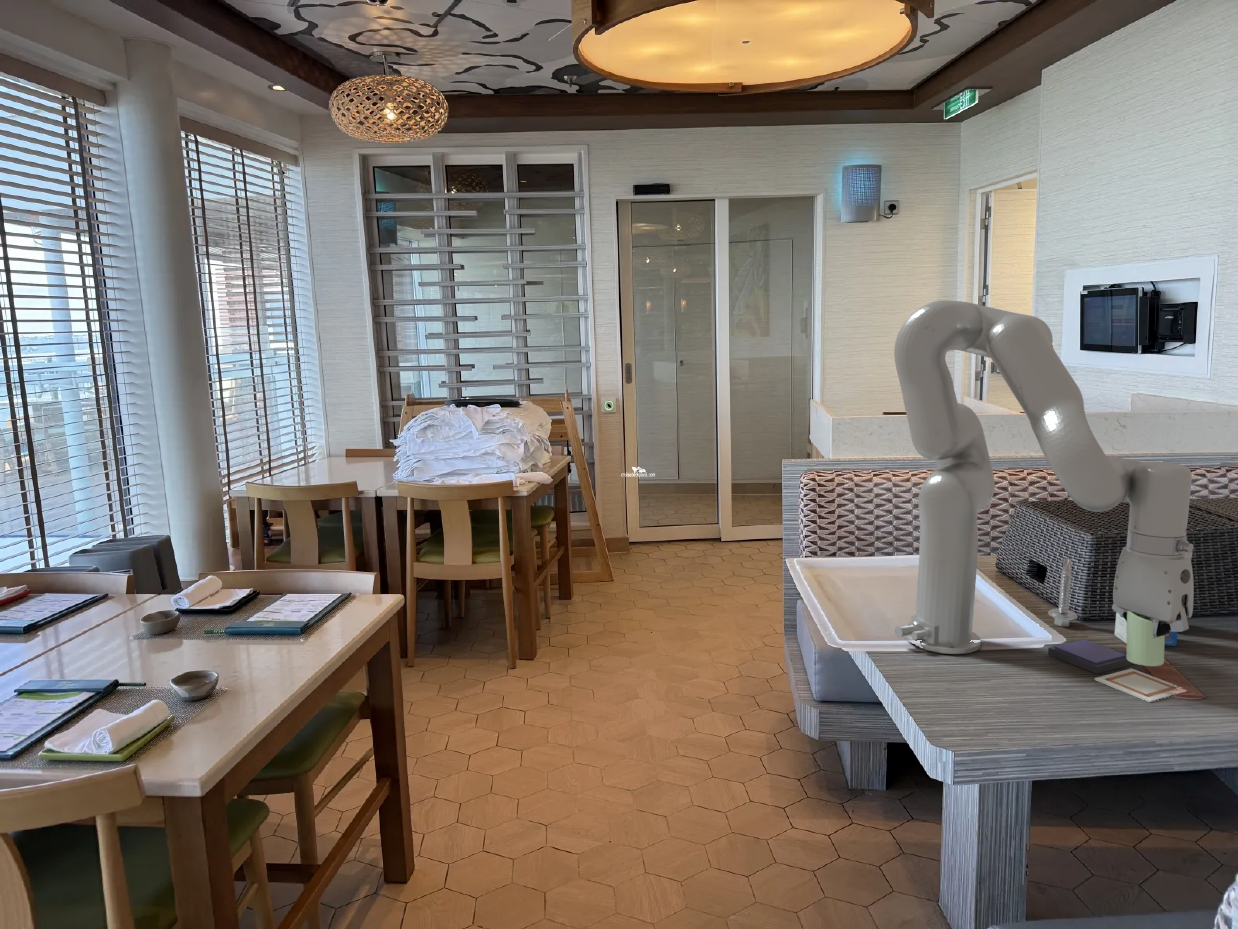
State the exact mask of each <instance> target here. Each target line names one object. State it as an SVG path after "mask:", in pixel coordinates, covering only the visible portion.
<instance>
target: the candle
mask: <svg viewBox="0 0 1238 929" xmlns="http://www.w3.org/2000/svg"><path fill="white" fill-rule="evenodd" d="M1150 620H1151V618H1149V617H1145V616H1142V615H1140V616H1137V615H1135V614H1134V613H1132V612H1131V611H1127V644H1126V651H1125V652H1126V653H1125V654H1126V659H1127V660H1128V661H1129V662H1131V663H1133V664H1134V665H1139V666H1145V667H1160V666H1162V665H1164V663H1165V645H1164V642H1165V636H1159V637H1156V638H1153V637H1154V636H1155V635H1154V636H1153V633H1154V632H1153V622H1152V621H1150ZM1162 624H1164V622H1163V623H1160V625H1162Z"/></svg>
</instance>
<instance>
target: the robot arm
mask: <svg viewBox="0 0 1238 929" xmlns="http://www.w3.org/2000/svg"><path fill="white" fill-rule="evenodd" d="M1053 340H1054V338H1053V333H1052V330H1051V329H1050V326H1049V325H1048V324H1047V323H1046V322H1045V321H1044V320H1043V319H1041V318H1039V317H1037V316H1033V315H1030V314H1022V313H1017V312H1012V311H1007V310H1003V309H1000V308H994V307H991V306H985V305H981V304H978V303H977V304H976V303H973V302H969V301H968V302H967V301H961V300H949V299H948V300H947V299H946V300H936V301H932V302H929V303H927V304H924V305H923V306H920V307H919V308H918V309H916V310H915V311H914V312H913V313H911V314H910V316H909V317H907V319H905V321H904V322H903V324H902V325H901V327H900V329H899V331H898V333H897V335H896V338H895V343H894V350H893V352H894V353H893V355H894V363H895V368H896V373H897V377H898V381H899V386H900V390H901V394H902V399H903V404H904V405H903V406H904V410H905V413H906V418H907V423H908V426H909V427H908V428H909V432H910V436H911V437H910V438H911V441H912V445H913V446H914V449H915V450H916V452H917V453H918V455H920V456H921V457H923V458H924V459H927V460H930V461H934V462H935V468H936V470H935V471H934V472H932V473H930V475H928V477H926V479H925V480H924V481H923V483H922V485H921V487H920V490H919V494H918V502H917V504H918V514H919V549H918V551H919V552H918V571H917V572H918V575H917V589H916V608H915V615H912V616H911V621H910V622H908V624H904V625H903V624H902V625H897V626H896V627H895V628H894V634H895V636H896V637H898V638H904V637H905V639H906V638H907V639H909V640H915V641H917V640H922V641H920V644H921V646H922V647H923V649H922V650H925V651H929V652H932V653H939V654H948V655H965V654H972V653H973V652H976V651H978V650H980V648H981V646H980V642H978V643H974V642H973V641H972V642H970V641H971V640H981V641H982V638H980V636H979V635H978V634H976V633H975V632H973V627H974V626H973V625H974V624H973V623H974V611H975V610H974V608H975V598H976V597H975V596H976V594H975V593H976V584H977V582H976V581H977V568H978V567H977V566H978V550H979V532H978V530H979V529H978V512H979V511H981V510H983V509H984V508H985V507H986V506H987V505H988V504H989V503H990V502H991V500H992V498H993V496H994V494H995V490H996V489H995V488H996V484H995V482H996V481H995V476H994V470H993V467H992V462H991V458H990V454H989V449H988V446H987V441H986V437H985V432H984V429H983V426H982V423H981V420H980V418H979V417H978V415H977V414H976V413H975V412H974V410H973V409H971V408H970V407H969V406H967V405H965V404H963V403H960V402H958V399H957V396H956V392H955V387H954V381H953V377H952V374H951V372H950V369H949V367H948V365H947V364H948V363H947V361H946V355H947V353H948V352H949V351H961V352H965V353H968V354H969V353H970V354H973V355H977V356H980V357H985V358H989V359H991V361H992V362H993V364H994V365H995V367H996V369H997V371H998V372H999V374H1000V375H1001V377H1002V378H1003V380H1004V381H1005V383H1006V385H1007V387H1008V388H1009V389H1010V391H1011V393H1012V394H1013V396H1014V398H1015V399H1016V400H1017V402H1018V403H1019V406H1020V407H1021V408H1022V410H1023V412H1024V413H1025V415H1026V417H1027V418H1028V421H1029V424H1030V427H1031V429H1032V432H1033V433H1034V435H1035V438H1036V440H1037V442H1038V444H1039V447H1040V449H1041V452H1042V453H1043V456H1044V458H1045V460H1046V461H1047V463H1048V464H1049V467H1050V468H1051V470H1052V471H1053V473H1054V474H1055V476H1056V478H1057V480H1058V481H1059V483H1060V484H1061V486H1062V487H1063V489H1064V490H1065V492H1066V494H1067V495H1068V496H1069V498H1070V499H1071V501H1073V503H1074V504H1076V505H1077V506H1079V507H1080V508H1081V509H1084V510H1086V511H1089V512H1095V513H1096V512H1097V513H1102V512H1107V511H1110V510H1112V509H1114V508H1115V507H1117V506H1118V505H1119V504H1120V503H1129V514H1128V515H1129V516H1128V526H1127V527H1128V528H1127V536H1126V546H1123V547H1122V549H1121V553H1120V555H1119V558H1118V562H1117V566H1116V571H1115V575H1114V580H1113V591H1112V602H1113V603H1112V606H1111V610H1112V611H1114V612H1115V613H1116V612H1117V613H1118V614H1120V615H1121V616H1123V617H1124V619H1125V620H1126V621H1127V611H1131V612H1132V613H1134V614H1135V615H1137V616H1140V615H1142V616H1145V617H1149V618H1151V620H1150V621H1152V622H1153V632H1154V633H1153V636H1154V635H1155V636H1154V637H1153V638H1156V637H1159V636H1165V635H1166V634H1167V633H1169V632H1178V633H1179V632H1186V631H1188V630H1189V629H1190V626H1189V623H1188V622H1189V621H1188V619H1190V618H1192V615H1193V612H1194V596H1195V594H1194V592H1195V590H1194V587H1195V586H1194V585H1195V583H1194V573H1193V565H1192V558H1191V559H1190V557H1189V556H1186V555H1184V553H1186V552H1192V553H1193V550H1194V544H1193V543H1189V541H1188V536H1187V531H1188V521H1189V520H1188V519H1189V510H1190V501H1191V490H1192V481H1193V480H1192V478H1193V477H1192V476H1193V474H1192V472H1191V470H1190V468H1189V467H1187V466H1186V465H1183V464H1180V463H1176V462H1168V461H1167V462H1166V461H1141V460H1140V461H1139V460H1133V459H1129V458H1122V457H1118V456H1111V455H1106V453H1105V451H1104V450H1103V448H1102V447H1101V445H1100V444H1099V442H1098V441H1097V439H1096V437H1095V435H1094V434H1093V431H1092V429H1091V427H1090V425H1089V422H1088V419H1087V416H1086V412H1085V404H1084V398H1083V394H1082V391H1081V390H1080V387H1079V386H1078V384H1077V383H1076V382H1075V380H1074V378H1073V377H1072V375H1071V373H1070V372H1069V370H1068V369H1067V367H1066V366H1065V365H1064V363H1063V361H1062V360H1061V358H1060V356H1058V354H1057V352H1056V350H1055V349H1054V347H1053ZM1187 541H1188V542H1187ZM1163 622H1164V624H1162V625H1160V623H1163ZM907 639H906V640H907Z"/></svg>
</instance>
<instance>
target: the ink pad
mask: <svg viewBox="0 0 1238 929" xmlns="http://www.w3.org/2000/svg"><path fill="white" fill-rule="evenodd" d="M1047 649H1048V651H1047V654H1048V655H1049V656H1051V657H1054V658H1055V659H1056V658H1057V659H1058V660H1062V661H1064V662H1066V663H1068V664H1071V665H1073V666H1076V667H1079V668H1081V669H1083V670H1087V671H1089V672H1092V673H1094V674H1096V675H1097V674H1101V673H1103V672H1108V671H1111V670H1116V669H1120V668H1124V667H1127V666H1131V665H1133V664H1134V663H1131V662H1129V661H1128V660H1127V659H1126V653H1124V652H1120V651H1117V650H1115V649H1112V648H1109V647H1106V646H1103V645H1101V644H1098V643H1095V642H1093V641H1090V640H1087V639H1085V638H1083V639H1080V640H1079V639H1078V640H1074V641H1071V642H1067V643H1063V644H1058V645H1054V646H1050V647H1048V648H1047Z"/></svg>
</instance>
